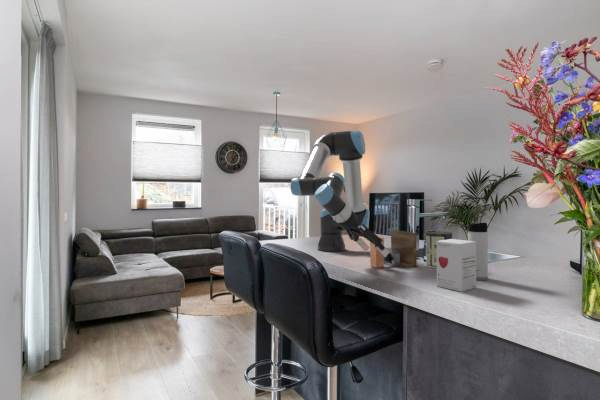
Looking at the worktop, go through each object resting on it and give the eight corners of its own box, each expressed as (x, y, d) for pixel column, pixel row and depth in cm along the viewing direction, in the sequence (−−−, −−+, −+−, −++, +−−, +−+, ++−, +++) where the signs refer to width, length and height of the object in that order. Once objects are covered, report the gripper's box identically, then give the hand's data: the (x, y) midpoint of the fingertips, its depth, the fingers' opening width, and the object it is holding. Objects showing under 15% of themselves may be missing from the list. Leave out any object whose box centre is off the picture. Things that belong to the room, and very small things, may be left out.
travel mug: (476, 281, 124) (475, 223, 123) (464, 276, 130) (464, 221, 130) (492, 280, 125) (492, 222, 124) (480, 276, 131) (479, 221, 131)
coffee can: (446, 263, 155) (446, 231, 154) (456, 268, 144) (456, 233, 144) (422, 264, 155) (422, 231, 155) (430, 269, 144) (430, 234, 144)
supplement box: (435, 286, 117) (435, 240, 117) (451, 282, 123) (450, 238, 123) (461, 292, 110) (461, 243, 110) (477, 287, 115) (477, 240, 115)
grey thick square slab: (394, 267, 149) (394, 250, 149) (384, 264, 155) (383, 248, 155) (400, 266, 150) (399, 249, 150) (389, 263, 156) (389, 247, 156)
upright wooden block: (376, 267, 147) (375, 238, 147) (370, 266, 151) (370, 237, 151) (402, 264, 153) (402, 236, 152) (396, 263, 156) (396, 235, 156)
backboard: (407, 267, 147) (406, 233, 147) (385, 262, 160) (385, 230, 160) (416, 266, 149) (416, 233, 149) (394, 261, 162) (394, 230, 162)
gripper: (324, 221, 153) (355, 254, 159) (356, 226, 130) (390, 264, 136) (335, 209, 155) (365, 241, 161) (368, 211, 132) (401, 249, 139)
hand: (376, 252), depth 149 cm, fingers open, 13 cm apart
